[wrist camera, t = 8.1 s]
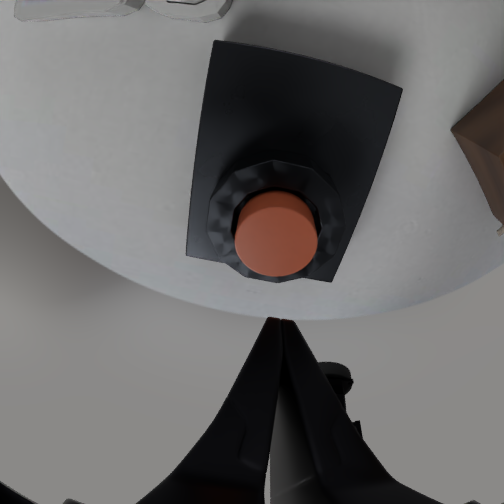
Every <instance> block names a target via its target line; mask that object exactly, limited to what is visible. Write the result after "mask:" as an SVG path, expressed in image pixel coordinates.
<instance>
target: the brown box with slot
mask: <svg viewBox="0 0 504 504" xmlns="http://www.w3.org/2000/svg"><path fill="white" fill-rule="evenodd" d="M451 132H452V133H453V135H454V137H455V138H456V140H457V142H458V143H459V145H460V147H461V149H462V151H463V152H464V154H465V156H466V158H467V160H468V162H469V164H470V165H471V167H472V169H473V171H474V173H475V175H476V177H477V179H478V181H479V184H480V186H481V188H482V190H483V192H484V194H485V197H486V199H487V201H488V203H489V206H490V208H491V211H492V213H493V215H494V216H495V217H496V218H497V219H498V220H499V221H500V222H501V223H502V224H503V226H502V227H501V228H500V229H499V230H497V233H498V235H499V237H500V236H501V235H502V234H503V233H504V80H503V81H502V82H501V83H500V84H499V85H497V86H496V87H495V88H494V89H493V90H492V91H491V92H490V93H489V94H488V95H487V96H486V97H485V98H484V99H483V100H482V101H481V102H480V103H479V104H478V105H476V106H475V107H474V108H473V109H472V110H471V111H470V112H469V113H468V114H467V115H466V116H465V117H464V118H463V119H461V120H460V121H459V122H458V123H457V124H456V125H455V126H454V127H453V128H452V129H451Z"/></svg>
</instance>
